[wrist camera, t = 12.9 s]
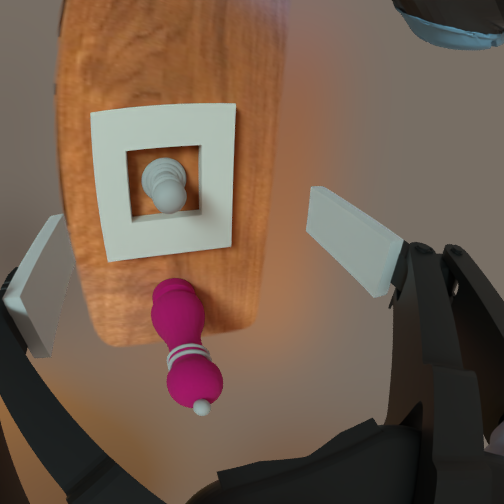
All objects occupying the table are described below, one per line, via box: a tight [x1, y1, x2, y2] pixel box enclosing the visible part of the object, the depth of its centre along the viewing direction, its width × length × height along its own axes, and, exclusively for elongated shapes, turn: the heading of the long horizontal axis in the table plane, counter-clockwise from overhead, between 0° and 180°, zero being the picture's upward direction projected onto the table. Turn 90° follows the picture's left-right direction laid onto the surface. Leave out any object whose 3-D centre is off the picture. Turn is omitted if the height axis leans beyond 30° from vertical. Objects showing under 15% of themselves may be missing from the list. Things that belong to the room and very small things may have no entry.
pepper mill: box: [151, 278, 223, 416], centre depth 34 cm, size 7×7×20 cm
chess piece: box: [142, 158, 187, 214], centre depth 30 cm, size 5×5×9 cm
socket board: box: [91, 103, 236, 262], centre depth 33 cm, size 18×16×2 cm
